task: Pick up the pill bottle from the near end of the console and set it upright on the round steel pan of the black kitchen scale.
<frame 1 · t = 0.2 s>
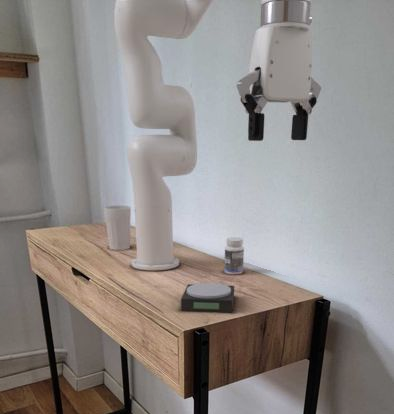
hand: (277, 140, 82), 31 cm above the table, tool pointing down, fingers open, 9 cm apart
scale: (208, 303, 100), on the table
cup: (119, 248, 148), on the table
pill bottle: (233, 273, 122), on the table
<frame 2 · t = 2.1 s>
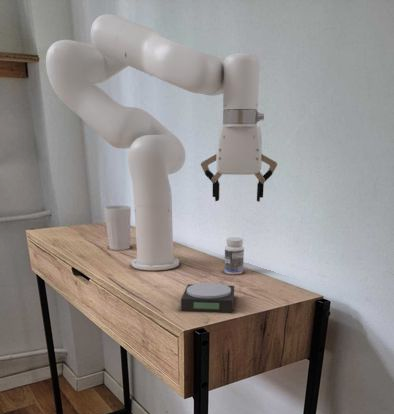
hand: (237, 200, 113), 18 cm above the table, tool pointing down, fingers open, 9 cm apart
nothing on the table moved.
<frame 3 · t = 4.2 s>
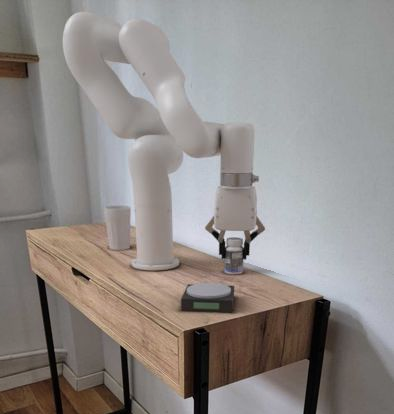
hand: (234, 257, 120), 4 cm above the table, tool pointing down, fingers closed on pill bottle, 4 cm apart
pill bottle: (233, 273, 122), on the table, touching gripper
everything else where it was.
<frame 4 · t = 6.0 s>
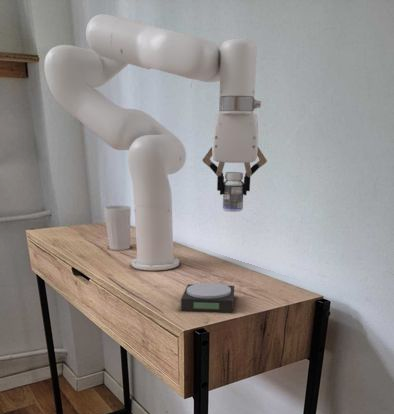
hand: (233, 193, 112), 19 cm above the table, tool pointing down, fingers closed on pill bottle, 4 cm apart
pill bottle: (232, 211, 114), point 15 cm above the table, touching gripper
everything else where it was.
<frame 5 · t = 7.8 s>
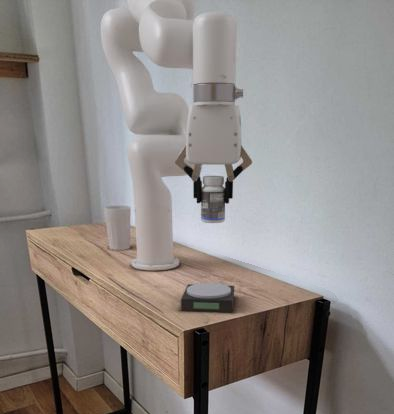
hand: (213, 201, 94), 20 cm above the table, tool pointing down, fingers closed on pill bottle, 4 cm apart
pill bottle: (212, 222, 95), point 16 cm above the table, touching gripper
everything else where it was.
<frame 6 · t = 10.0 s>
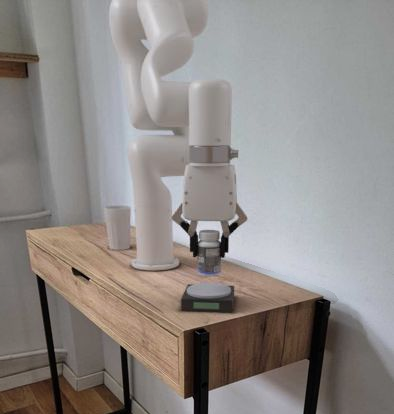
hand: (209, 255, 95), 10 cm above the table, tool pointing down, fingers closed on pill bottle, 4 cm apart
pill bottle: (209, 274, 97), point 6 cm above the table, touching gripper
everything else where it was.
when the fingers open (7 cm above the table, at t = 11.3 s): pill bottle stays where it is, resting on scale.
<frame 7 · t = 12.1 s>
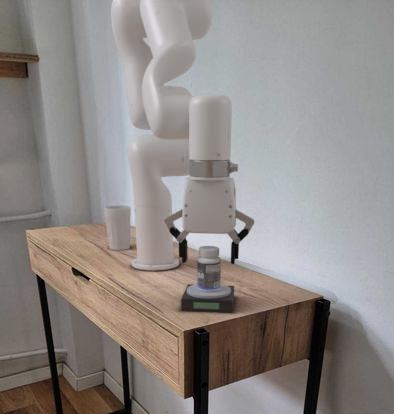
hand: (208, 261, 96), 9 cm above the table, tool pointing down, fingers open, 9 cm apart
pill bottle: (208, 289, 98), point 3 cm above the table, touching scale
everything else where it was.
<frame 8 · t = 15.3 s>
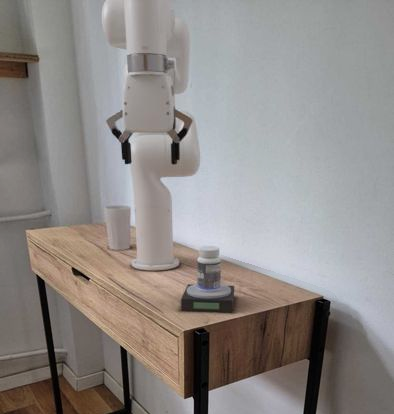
hand: (151, 163, 99), 26 cm above the table, tool pointing down, fingers open, 9 cm apart
nothing on the table moved.
at the end: pill bottle inside the target area on the scale (0.0 cm from its centre), point 2.9 cm above the scale's base; pill bottle tilted 0° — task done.
